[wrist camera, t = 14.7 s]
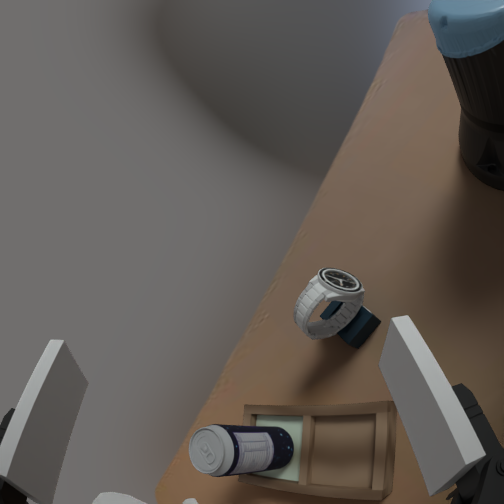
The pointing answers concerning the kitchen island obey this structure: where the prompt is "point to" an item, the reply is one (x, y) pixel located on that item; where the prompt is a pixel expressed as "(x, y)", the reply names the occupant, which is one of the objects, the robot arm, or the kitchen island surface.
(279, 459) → the beverage can
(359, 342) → the watch
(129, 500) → the heart sculpture
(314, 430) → the brown divided tray
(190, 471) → the kitchen island surface
